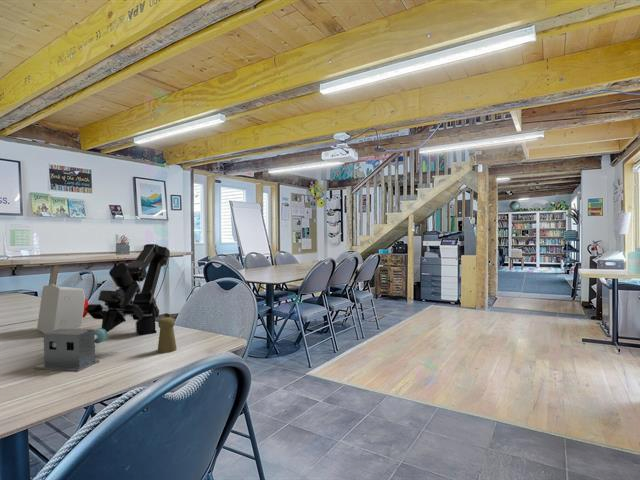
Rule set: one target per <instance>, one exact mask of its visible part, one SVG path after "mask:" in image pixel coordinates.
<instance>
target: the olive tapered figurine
mask: <svg viewBox="0 0 640 480" xmlns="http://www.w3.org/2000/svg"><path fill="white" fill-rule="evenodd" d="M157 324H158V328H159V334H158V335H159V336H158V342H157V353H159V354H167V353H168V354H169V353H172V352H176V351H177V344H176V337H175V331H174V330H175V329H174V326H175V324H176V322H175V319H174V317H172V316H171V317H170V316H167V317H161V318H160V319H159V320H158V323H157Z"/></svg>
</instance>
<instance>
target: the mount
mask: <svg viewBox="0 0 640 480" xmlns="http://www.w3.org/2000/svg"><path fill="white" fill-rule="evenodd" d="M94 330H95V329H92V328H91V329H87V328H86V329H85V328H79V329H58V330H54V331H51V332H47V333H43V361H44V362H43V363H40V364H39V365H36V366H33V369H34V370H44V371H45V370H47V371H50V370H51V371H66V372H80V371H82V370H83V371H84V369H87V368H89V367H91V366H94V365H95V364H98V363H100V359H96V347H95V346H96V345H95V344H96V343H95V336H94ZM53 342H56V347H55V348H54V347H53V346H52V343H53Z"/></svg>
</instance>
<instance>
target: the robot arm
mask: <svg viewBox="0 0 640 480" xmlns="http://www.w3.org/2000/svg"><path fill="white" fill-rule="evenodd" d="M170 254H171V251H170V249H169V248H167V246H161V245H159V244H157V243H153V244H151V243H148V244H144V246H143V249H142V251H141V252H140V253H139V254H138V256H137V257H136V258H135V260H134V261H133V262H130V263H128V264H126V263H125V262H119V263H118V265H115V266H113V267H112V268H111V269H109V271H108V273H109V276H110V278H111V279H112V282H113V283H114V284H115V286H116V287H118V288H117V289H116V290H100V292H99V296H98V299H97V300H98V301H100V302H104V306H103V305H101V304H100V303H90V304H89V305H88V306H87V308H86V311H87V312H88V313H87V314H89V315H90V317H92V318H93V319H94V320H101V321H102V322H101V328H103V329H105V330H106V331H107V333H108V332H110V331H112V330H113V329H115V328H116V327H117V326H119V325H120V324H122V323H125V322H126V321H127V319H126V318H127V317H128V316H129V315H131V316H132V319H133V321H135V332H136V334H137V335H138V336H141V335H150V334H154V333H157V330H156V318H159V316H160V309H159V308H158V305H157V300H156V299H155V296H154V295H155V292H156V288H157V284H158V282H159V281H158V280H159V277H160V274H161V270H162V268H163V266H165V264H167V263H168V261H169V258H170ZM147 268H148V269H147ZM138 282H144V283H143V286H142V288H141V289H140V285H139V284H138Z"/></svg>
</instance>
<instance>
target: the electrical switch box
mask: <svg viewBox="0 0 640 480" xmlns="http://www.w3.org/2000/svg"><path fill="white" fill-rule="evenodd" d="M88 305H90V304H89V302H88V299H86V295H85V291H84V288H79V287H72V286H71V287H70V286H57V285H56V284H53V283H51V284H48V285H46V284H45V285H43V286H42V291H41V299H40V305H39V312H38V319H37V320H38V321H37V326H36V329H37V330H38V331H40V332H41V334H42V333H43V334H44V333H47V332H51V331H54V330H58V329H80V327H81V325H82V324H83V319H85V317H86V316H88V314H89V313H88V312H87V311H86V308H87V306H88Z"/></svg>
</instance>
